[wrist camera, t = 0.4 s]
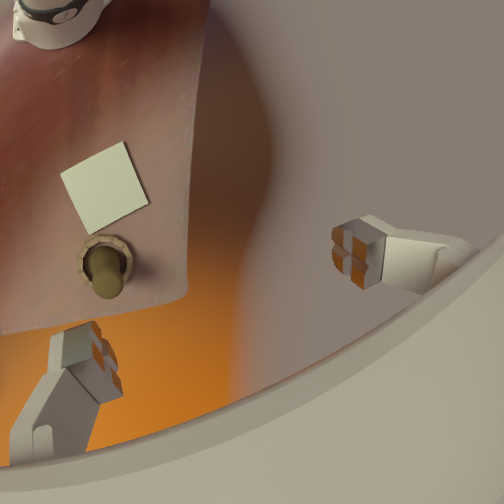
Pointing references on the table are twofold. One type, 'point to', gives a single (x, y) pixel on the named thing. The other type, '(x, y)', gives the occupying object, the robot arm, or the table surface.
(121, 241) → the ring
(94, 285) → the cork
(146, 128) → the table surface
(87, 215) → the ceramic tile
